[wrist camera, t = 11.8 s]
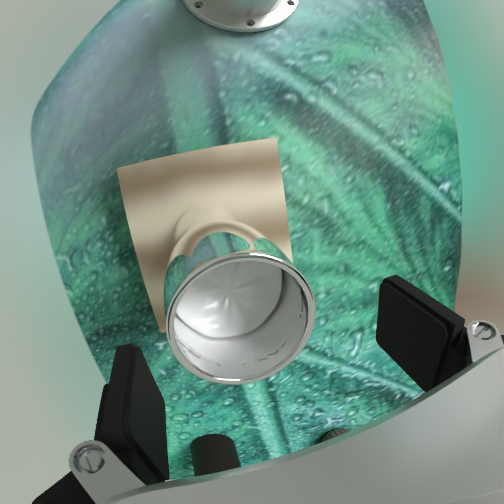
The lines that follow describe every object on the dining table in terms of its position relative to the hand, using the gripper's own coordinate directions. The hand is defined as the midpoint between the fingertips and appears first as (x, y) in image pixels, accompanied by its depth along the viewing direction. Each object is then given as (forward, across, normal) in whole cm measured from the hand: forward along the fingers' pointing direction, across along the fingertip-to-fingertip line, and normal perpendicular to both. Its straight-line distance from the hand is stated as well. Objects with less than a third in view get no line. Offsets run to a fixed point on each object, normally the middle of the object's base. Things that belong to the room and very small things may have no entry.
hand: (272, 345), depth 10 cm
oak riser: (+20, 0, +1) cm, 20 cm away
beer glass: (+17, +1, +1) cm, 17 cm away
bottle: (+19, +7, +33) cm, 39 cm away
